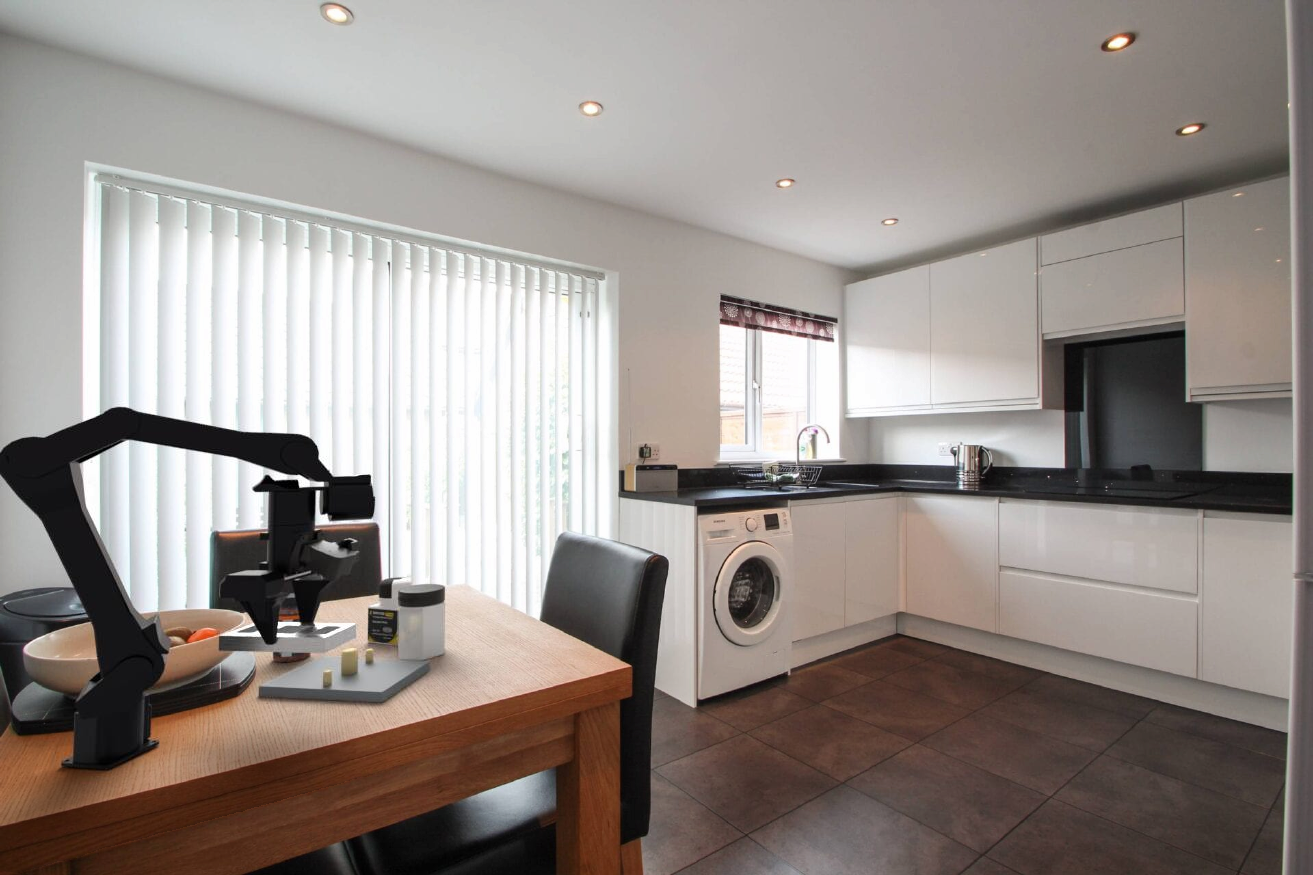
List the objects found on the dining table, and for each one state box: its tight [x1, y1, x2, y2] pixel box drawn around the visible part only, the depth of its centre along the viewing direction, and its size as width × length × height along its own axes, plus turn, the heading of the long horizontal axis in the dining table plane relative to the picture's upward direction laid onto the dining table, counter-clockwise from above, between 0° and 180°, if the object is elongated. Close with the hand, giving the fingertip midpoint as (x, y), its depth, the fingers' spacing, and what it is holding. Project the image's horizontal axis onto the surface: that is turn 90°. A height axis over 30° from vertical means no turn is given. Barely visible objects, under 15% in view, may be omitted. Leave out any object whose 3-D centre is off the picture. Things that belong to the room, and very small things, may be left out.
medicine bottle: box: [367, 576, 413, 646], centre depth 120 cm, size 7×7×12 cm
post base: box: [258, 647, 431, 703], centre depth 96 cm, size 14×20×5 cm
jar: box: [397, 583, 446, 661], centre depth 111 cm, size 9×8×12 cm
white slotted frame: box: [218, 622, 357, 654], centre depth 83 cm, size 15×7×2 cm, turn 85°
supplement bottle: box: [272, 592, 312, 663], centre depth 109 cm, size 6×6×11 cm
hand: (289, 636), depth 83 cm, fingers closed on white slotted frame, 7 cm apart
